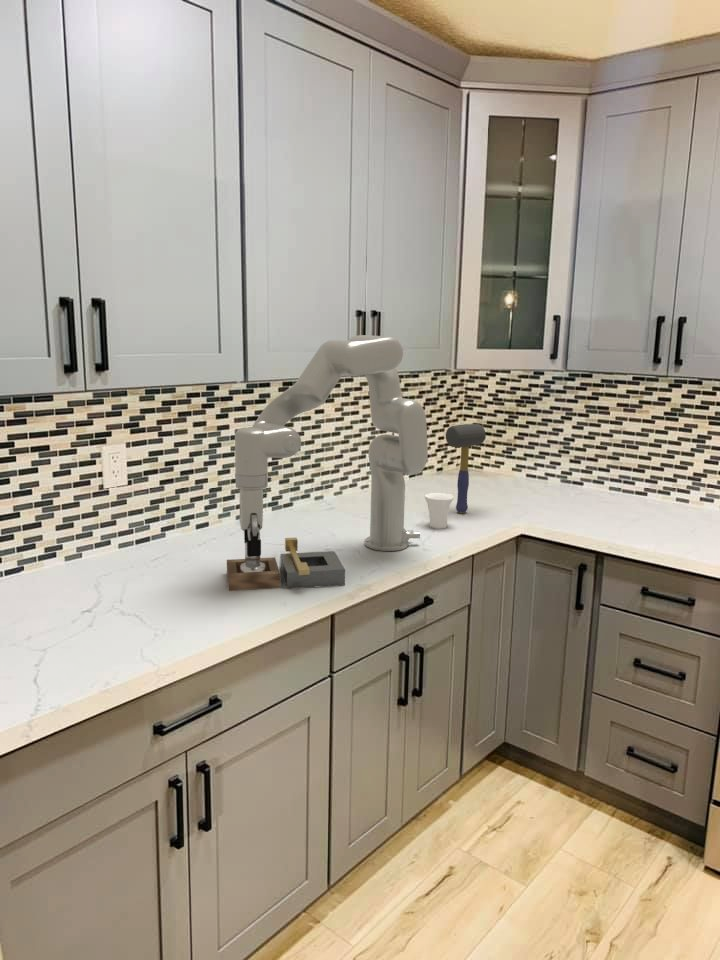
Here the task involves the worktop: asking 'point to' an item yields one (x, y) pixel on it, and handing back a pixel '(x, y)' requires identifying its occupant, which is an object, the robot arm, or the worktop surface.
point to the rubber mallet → (464, 455)
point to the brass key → (296, 556)
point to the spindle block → (313, 570)
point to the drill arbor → (251, 563)
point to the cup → (438, 509)
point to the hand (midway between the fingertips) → (252, 549)
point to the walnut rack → (253, 575)
